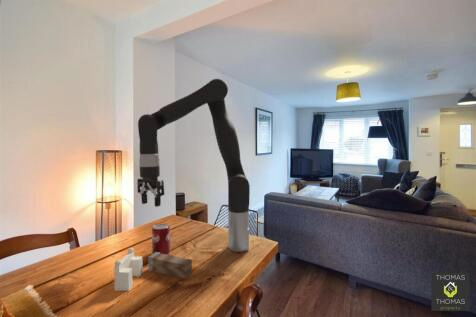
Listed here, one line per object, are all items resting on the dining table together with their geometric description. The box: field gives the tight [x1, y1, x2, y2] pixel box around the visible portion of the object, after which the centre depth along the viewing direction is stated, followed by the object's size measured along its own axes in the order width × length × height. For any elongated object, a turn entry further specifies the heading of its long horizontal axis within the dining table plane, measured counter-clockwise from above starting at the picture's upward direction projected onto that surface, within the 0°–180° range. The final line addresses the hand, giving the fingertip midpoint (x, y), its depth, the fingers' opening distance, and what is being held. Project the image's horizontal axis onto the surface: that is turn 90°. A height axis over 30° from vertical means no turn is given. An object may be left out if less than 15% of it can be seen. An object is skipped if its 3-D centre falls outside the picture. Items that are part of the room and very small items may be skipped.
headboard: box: [113, 247, 144, 292], centre depth 78 cm, size 5×10×10 cm, turn 0°
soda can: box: [151, 223, 171, 255], centre depth 98 cm, size 7×7×12 cm
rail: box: [147, 252, 193, 280], centre depth 85 cm, size 16×4×5 cm, turn 70°
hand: (150, 204), depth 94 cm, fingers open, 8 cm apart
